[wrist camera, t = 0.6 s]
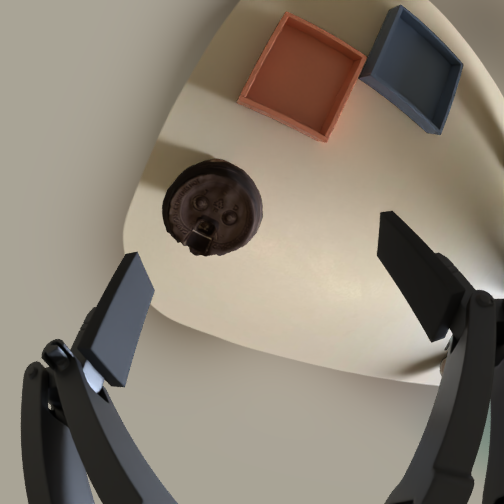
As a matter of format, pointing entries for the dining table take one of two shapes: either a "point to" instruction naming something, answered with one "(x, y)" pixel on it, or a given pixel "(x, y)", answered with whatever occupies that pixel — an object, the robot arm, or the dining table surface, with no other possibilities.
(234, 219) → the labeled brown jar
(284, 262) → the dining table surface
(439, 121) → the slate tray
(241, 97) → the terracotta tray
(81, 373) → the robot arm
